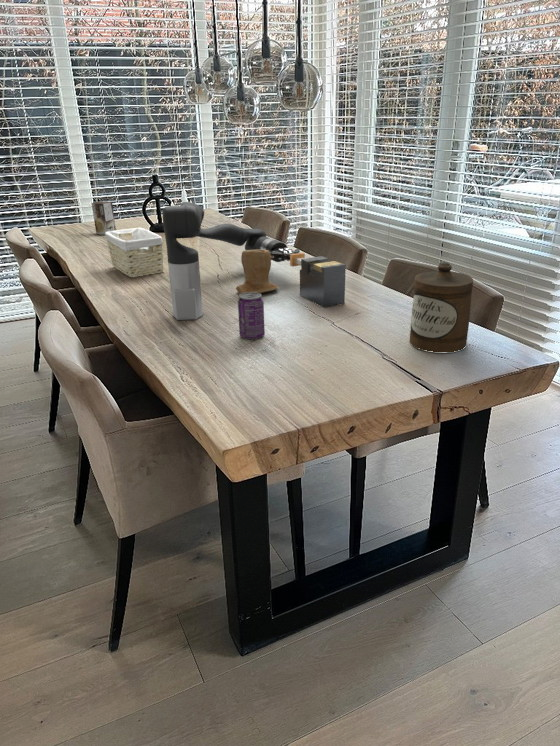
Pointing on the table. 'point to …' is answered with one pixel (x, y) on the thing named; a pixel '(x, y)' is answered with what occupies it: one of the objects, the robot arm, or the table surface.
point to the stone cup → (256, 272)
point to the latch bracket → (323, 281)
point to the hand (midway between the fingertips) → (296, 259)
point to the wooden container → (441, 310)
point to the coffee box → (103, 217)
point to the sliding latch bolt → (297, 259)
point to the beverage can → (251, 315)
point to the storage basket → (136, 251)
